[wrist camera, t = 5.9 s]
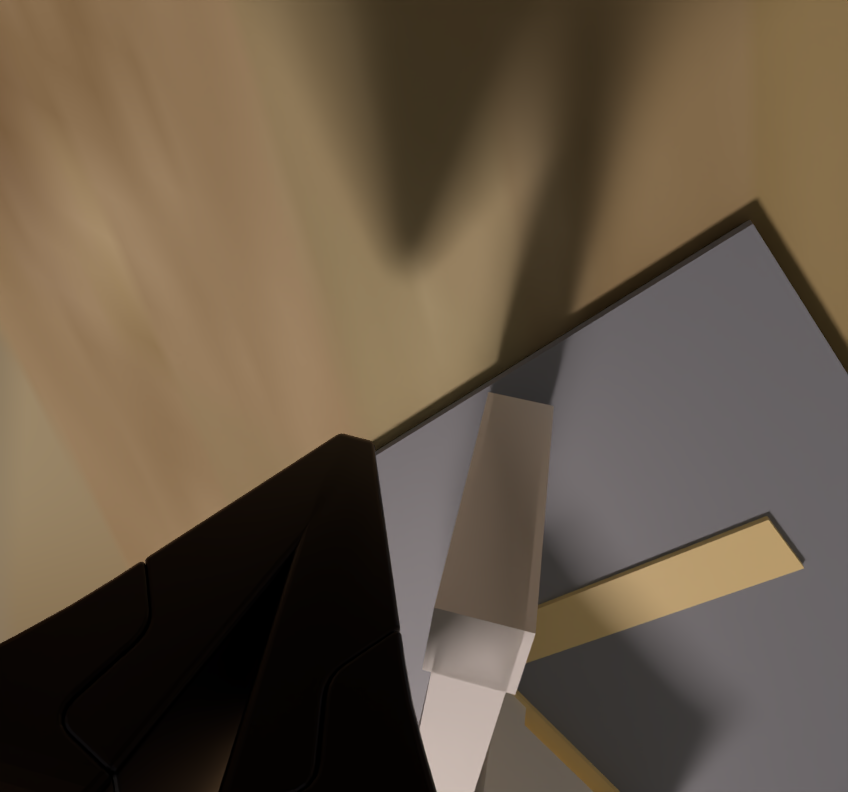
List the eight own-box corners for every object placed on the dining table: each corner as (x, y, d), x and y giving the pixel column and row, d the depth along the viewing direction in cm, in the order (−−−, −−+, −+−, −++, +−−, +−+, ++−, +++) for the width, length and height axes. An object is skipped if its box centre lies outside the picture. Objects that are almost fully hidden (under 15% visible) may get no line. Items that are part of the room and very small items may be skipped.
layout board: (1100, 776, 12) (1111, 792, 12) (569, 859, 17) (569, 872, 17) (748, 219, 8) (755, 226, 8) (222, 545, 14) (215, 556, 14)
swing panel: (473, 696, 14) (432, 950, 10) (428, 684, 14) (371, 931, 10) (554, 406, 10) (534, 651, 6) (488, 392, 10) (430, 623, 6)
